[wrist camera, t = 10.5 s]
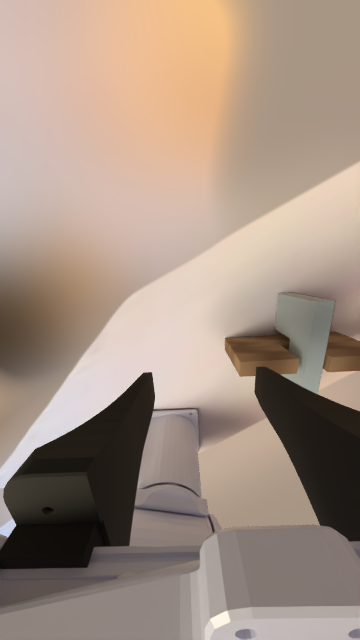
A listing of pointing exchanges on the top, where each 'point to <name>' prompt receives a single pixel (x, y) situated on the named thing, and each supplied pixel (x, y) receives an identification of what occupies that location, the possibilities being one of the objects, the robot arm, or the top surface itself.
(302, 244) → the top surface
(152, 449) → the robot arm
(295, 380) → the pale green bar
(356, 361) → the walnut plate
